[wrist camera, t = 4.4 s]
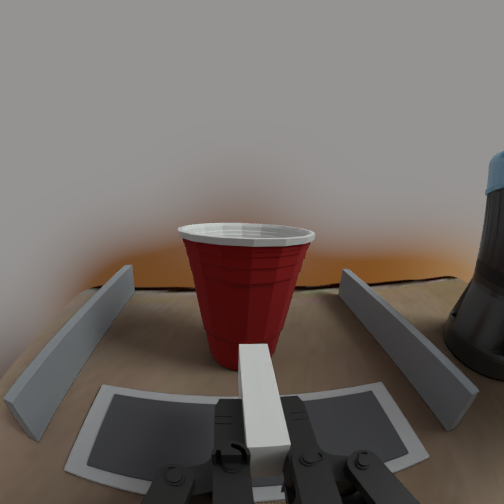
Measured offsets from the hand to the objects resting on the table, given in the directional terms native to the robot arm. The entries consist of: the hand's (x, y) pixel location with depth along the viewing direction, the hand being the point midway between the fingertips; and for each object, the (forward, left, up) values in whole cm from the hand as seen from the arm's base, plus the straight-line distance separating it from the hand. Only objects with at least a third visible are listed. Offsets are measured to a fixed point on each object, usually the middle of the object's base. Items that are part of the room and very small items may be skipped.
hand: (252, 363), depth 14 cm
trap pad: (0, +2, -6) cm, 6 cm away
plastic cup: (0, -9, -6) cm, 11 cm away
